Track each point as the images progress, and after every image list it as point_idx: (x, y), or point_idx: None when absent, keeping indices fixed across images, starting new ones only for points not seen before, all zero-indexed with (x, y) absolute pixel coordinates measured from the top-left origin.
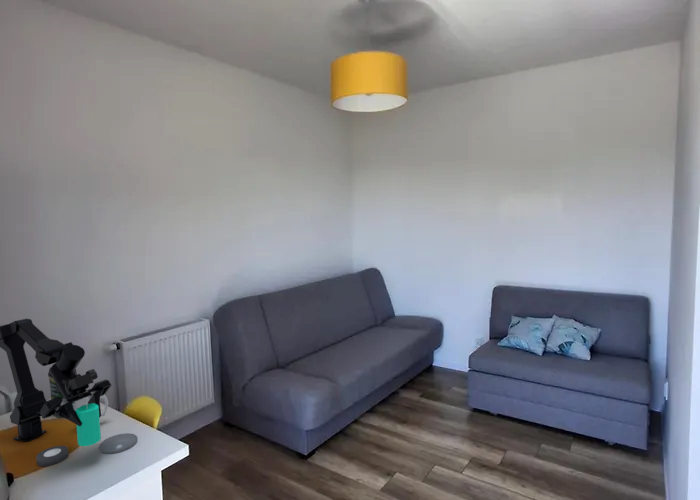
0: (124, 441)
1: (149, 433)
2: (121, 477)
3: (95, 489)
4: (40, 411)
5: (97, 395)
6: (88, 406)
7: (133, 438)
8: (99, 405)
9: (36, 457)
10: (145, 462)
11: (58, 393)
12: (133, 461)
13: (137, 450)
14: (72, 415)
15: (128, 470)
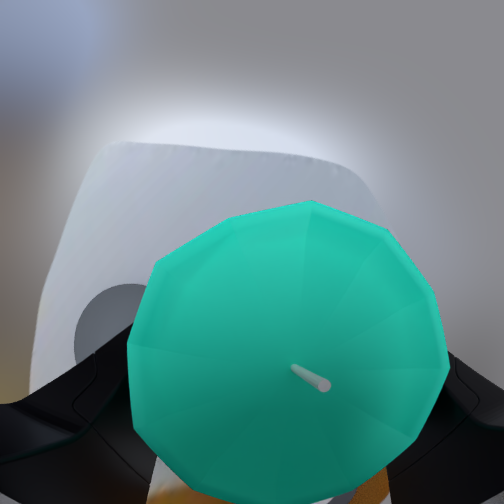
0: (118, 331)
1: (53, 302)
2: (275, 163)
3: (345, 182)
4: None
5: (2, 426)
6: (220, 438)
7: (93, 315)
8: (106, 347)
9: (350, 499)
10: (189, 164)
11: None
12: (197, 200)
13: (140, 246)
14: (457, 366)
15: (241, 173)
